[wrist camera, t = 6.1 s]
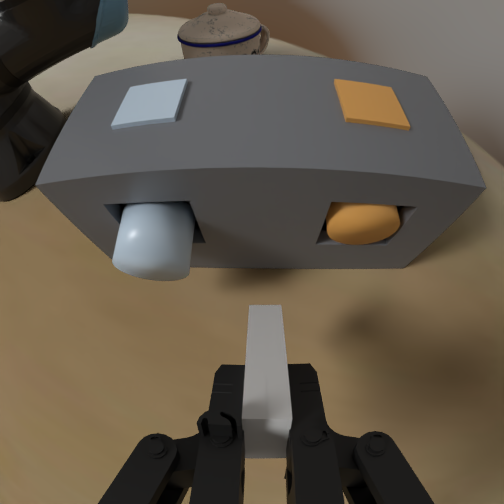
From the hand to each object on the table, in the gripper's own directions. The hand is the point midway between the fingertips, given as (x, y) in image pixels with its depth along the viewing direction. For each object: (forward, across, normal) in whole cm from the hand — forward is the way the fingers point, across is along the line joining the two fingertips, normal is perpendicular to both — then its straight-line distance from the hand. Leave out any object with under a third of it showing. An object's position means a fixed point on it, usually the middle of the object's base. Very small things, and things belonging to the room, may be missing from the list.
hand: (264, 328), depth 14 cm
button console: (+13, 0, +3) cm, 13 cm away
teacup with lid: (+27, -3, +16) cm, 32 cm away
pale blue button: (+5, -6, +2) cm, 8 cm away
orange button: (+7, +6, +4) cm, 10 cm away
